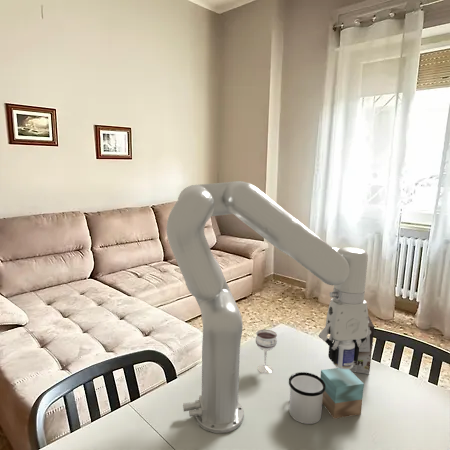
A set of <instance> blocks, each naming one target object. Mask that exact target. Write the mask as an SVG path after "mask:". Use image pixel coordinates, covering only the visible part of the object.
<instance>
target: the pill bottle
mask: <svg viewBox="0 0 450 450" xmlns="http://www.w3.org/2000/svg"><path fill="white" fill-rule="evenodd" d="M337 349H338V362H337V364H334V363H333V362H332V364H333V365H334V366H335V368H341V369H351V368H352V367H353V364H354V351H355V344H354V342H353V341H352V340H347V341H339V343H338V346H337Z"/></svg>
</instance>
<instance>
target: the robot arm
mask: <svg viewBox="0 0 450 450" xmlns="http://www.w3.org/2000/svg"><path fill="white" fill-rule="evenodd" d="M226 215H227V216H228V215H234V216H235V217H236V218H237V219H239V220H240V221H241V222H242V223H243V224H245V225H247V227H249V228H250V229H252V230H253V231H254V232H255V233H256V234H258V235H260V237H262V238H263V239H264V240H265V241H267V242H268V243H269V244H271V245H272V246H273V247H274V248H275V249H277V250H279V251H281V252H283V253H284V254H286V255H287V256H288V257H290V258H292V259H293V260H294V261H296V262H297V263H298V264H300V265H301V266H302V267H304V268H305V269H306V270H308V271H309V272H310V273H312V275H314V276H315V277H316V278H318V279H319V280H321V282H323V283H324V284H326V285H329V286H333V290H332V291H330V292H329V297H330V298H331V299H330V302H329V304H328V309H327V314H326V320H325V326H324V327H323V328H322V330H321V331H320V332H319V334H318V337H319V338H320V340H322V341H323V342H325V343H326V344H327V345H328V359H330V361H331V362H332V364H333V363H334V364H337V362H338V349H337V346H338V343H339V341H347V340H352V341H353V342H354V344H355V351H354V361H358V355H359V347H361V346H362V343H363V342H364V341H365V339H366V337H368V336H369V335H370V334H371V331H370V329H369V328H368V316H369V309H368V302H367V301H366V300H365V290H366V284H367V283H366V280H367V273H368V262H369V254H368V253H367V251H366V250H365V249H362V248H359V247H354V246H353V247H350V246H349V247H348V246H347V247H345V246H344V247H340V248H339V247H332V246H331V245H330V244H328V243H327V242H326V241H324V240H323V239H322V238H320V237H319V236H318V235H316V234H315V233H314V232H313V231H312V230H310V229H309V228H308V227H307V226H306V225H304V224H303V223H302V222H301V221H299V219H297V218H296V217H295V216H293V215H292V214H291V213H289V212H288V211H287V210H285V209H284V208H283V207H282V206H281V205H279V204H278V203H277V202H276V201H274V200H273V199H272V198H271V197H270V196H268V195H267V194H266V193H265V192H264V191H262V190H261V189H260V188H258V187H257V186H256V185H254V184H252V183H251V182H246V181H243V180H242V181H240V180H236V181H229V182H228V181H227V182H218V183H217V182H215V183H204V184H192V185H189V186H186V187H185V188H183V190H181V191H180V192H179V195H178V198H177V201H176V203H175V204H174V205H173V206H172V209H171V210H170V213H169V214H168V217H167V222H166V238H167V241H168V244H169V247H170V249H171V252H172V253H173V256H174V259H175V261H176V264H177V266H178V268H179V270H180V272H181V275H182V277H183V279H184V282H185V286H186V288H187V290H188V292H189V293H190V294H191V295H192V296H193V297H194V298H195V300H196V302H197V305H198V308H199V309H200V313H201V322H202V342H201V343H202V344H201V347H202V348H201V395H199V396H198V399H196V400H194V401H193V402H183V403H182V404H183V405H182V408H183V409H182V411H183V412H188V413H189V414H188V415H189V417H195V421H196V423H197V424H198V425H199V427H201V428H202V429H204V430H206V431H208V432H210V433H215V434H224V433H225V434H226V433H229V432H232V431H234V430H236V429H238V428H239V427H240V426H241V425H242V423H243V421H244V416H245V415H244V414H245V412H244V407H242V405H241V404H240V403H239V389H240V388H239V387H240V385H239V384H240V356H241V354H240V353H241V340H242V336H243V335H242V334H243V327H244V325H243V318H242V317H243V316H242V314H241V311H240V308H239V307H238V305H237V303H236V301H235V298H234V295H233V294H232V291H231V289H230V287H229V285H228V283H227V280H226V278H225V276H224V273H223V271H222V267H221V265H220V264H219V261H218V260H217V258H215V256H214V254H213V252H212V250H211V247H210V245H209V242H208V240H207V238H206V234H205V227H206V225H207V223H208V221H209V220H210V219H211V218H212V217H214V216H216V217H217V216H226ZM328 335H329V337H328ZM334 364H333V365H334Z"/></svg>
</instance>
